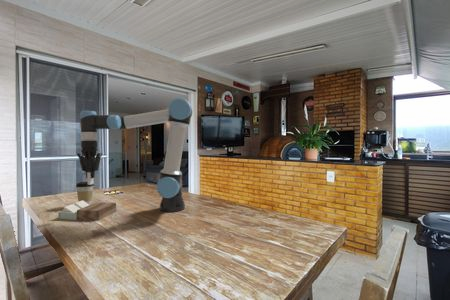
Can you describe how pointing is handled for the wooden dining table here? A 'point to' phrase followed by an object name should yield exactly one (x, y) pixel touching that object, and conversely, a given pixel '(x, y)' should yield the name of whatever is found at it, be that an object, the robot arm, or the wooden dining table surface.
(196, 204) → the wooden dining table surface
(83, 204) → the tile
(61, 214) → the tray
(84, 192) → the coffee cup
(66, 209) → the tile
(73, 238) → the wooden dining table surface
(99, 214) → the board
